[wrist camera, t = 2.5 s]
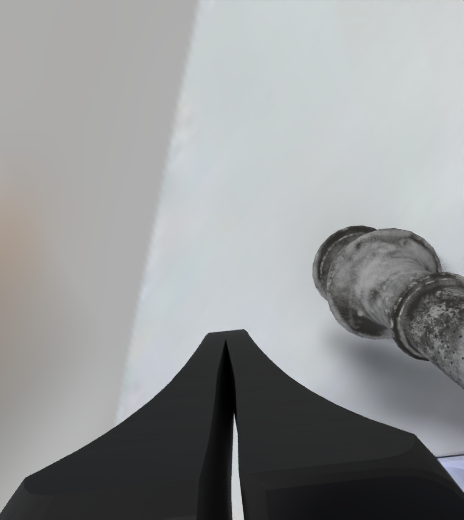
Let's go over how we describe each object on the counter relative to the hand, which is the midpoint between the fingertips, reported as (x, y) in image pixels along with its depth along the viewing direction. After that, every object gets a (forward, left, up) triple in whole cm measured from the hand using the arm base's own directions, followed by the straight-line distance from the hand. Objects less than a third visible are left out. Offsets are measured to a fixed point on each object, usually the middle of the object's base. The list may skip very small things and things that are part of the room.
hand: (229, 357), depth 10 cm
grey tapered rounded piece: (0, -8, -9) cm, 12 cm away
